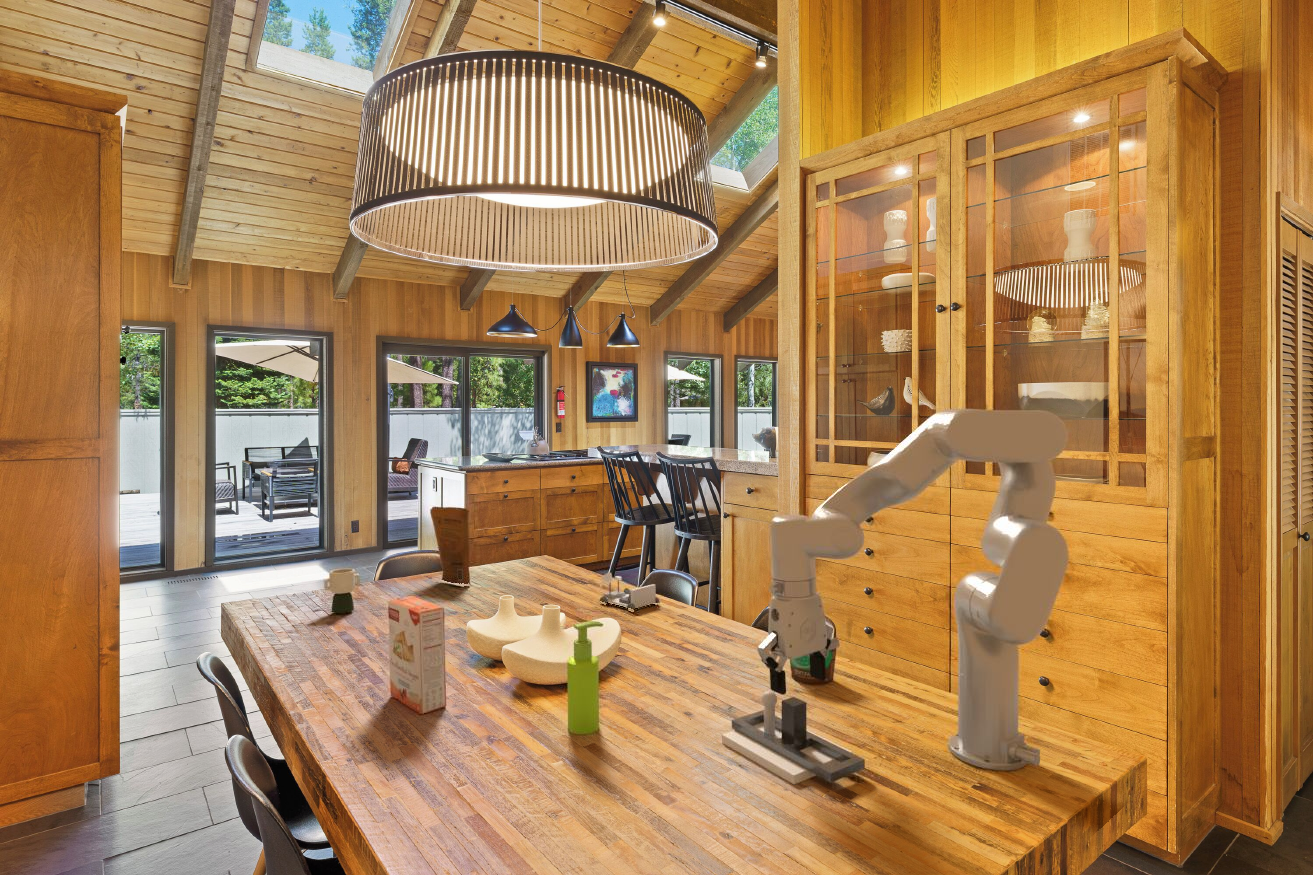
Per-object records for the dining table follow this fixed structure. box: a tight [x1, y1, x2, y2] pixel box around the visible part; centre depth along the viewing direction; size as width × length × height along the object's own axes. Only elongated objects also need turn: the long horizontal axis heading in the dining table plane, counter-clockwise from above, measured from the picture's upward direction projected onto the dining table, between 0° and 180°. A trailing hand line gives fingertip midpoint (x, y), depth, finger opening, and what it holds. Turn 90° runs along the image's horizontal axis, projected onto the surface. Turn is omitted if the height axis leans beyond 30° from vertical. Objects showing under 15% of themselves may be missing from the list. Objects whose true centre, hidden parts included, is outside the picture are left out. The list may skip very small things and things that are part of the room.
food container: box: [789, 636, 840, 686], centre depth 158 cm, size 12×6×10 cm, turn 62°
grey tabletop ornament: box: [599, 572, 660, 610], centre depth 225 cm, size 18×10×12 cm
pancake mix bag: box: [429, 506, 471, 585], centre depth 253 cm, size 7×19×28 cm, turn 52°
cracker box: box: [387, 595, 447, 715], centre depth 148 cm, size 14×6×21 cm, turn 45°
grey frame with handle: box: [731, 696, 866, 784], centre depth 123 cm, size 24×8×8 cm, turn 34°
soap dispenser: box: [566, 620, 604, 736], centre depth 135 cm, size 6×7×20 cm
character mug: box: [323, 568, 361, 614], centre depth 217 cm, size 11×7×13 cm, turn 139°
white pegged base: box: [721, 690, 853, 785], centre depth 125 cm, size 18×14×9 cm
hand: (798, 684), depth 123 cm, fingers open, 9 cm apart
